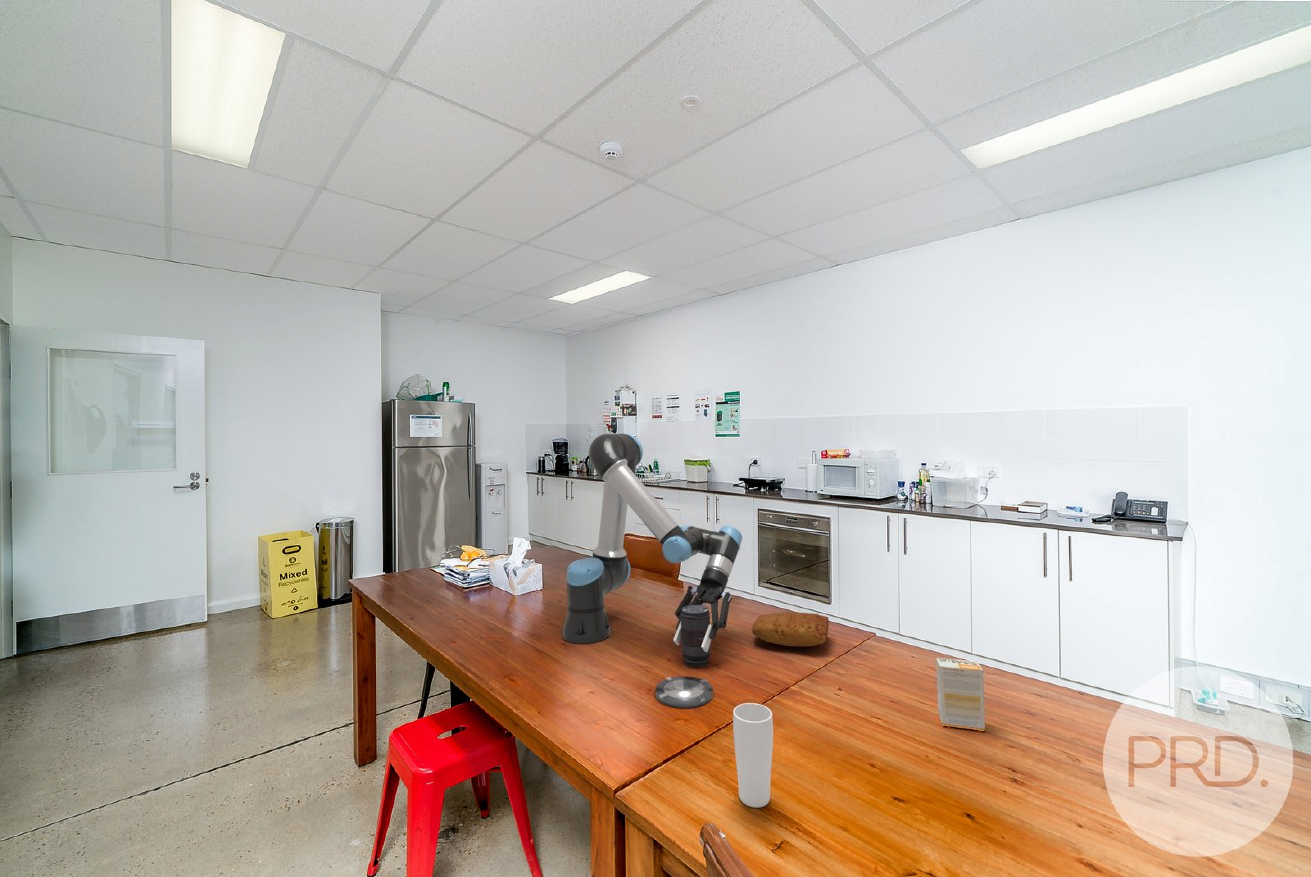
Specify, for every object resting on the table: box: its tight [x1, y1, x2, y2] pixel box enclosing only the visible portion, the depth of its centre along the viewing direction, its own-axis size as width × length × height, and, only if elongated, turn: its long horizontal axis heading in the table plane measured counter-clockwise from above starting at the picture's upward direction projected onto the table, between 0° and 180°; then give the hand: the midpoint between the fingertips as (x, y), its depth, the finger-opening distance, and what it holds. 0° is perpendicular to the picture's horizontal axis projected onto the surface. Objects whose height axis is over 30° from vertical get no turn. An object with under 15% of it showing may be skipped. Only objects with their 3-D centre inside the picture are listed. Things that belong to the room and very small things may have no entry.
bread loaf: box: [751, 611, 830, 648], centre depth 161 cm, size 22×17×8 cm
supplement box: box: [935, 657, 986, 731], centre depth 114 cm, size 8×5×13 cm, turn 71°
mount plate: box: [654, 675, 714, 709], centre depth 130 cm, size 14×14×2 cm
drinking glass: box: [732, 702, 774, 809], centre depth 92 cm, size 7×7×15 cm
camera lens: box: [681, 604, 711, 668], centre depth 148 cm, size 8×8×15 cm
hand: (690, 646), depth 146 cm, fingers closed on camera lens, 8 cm apart
